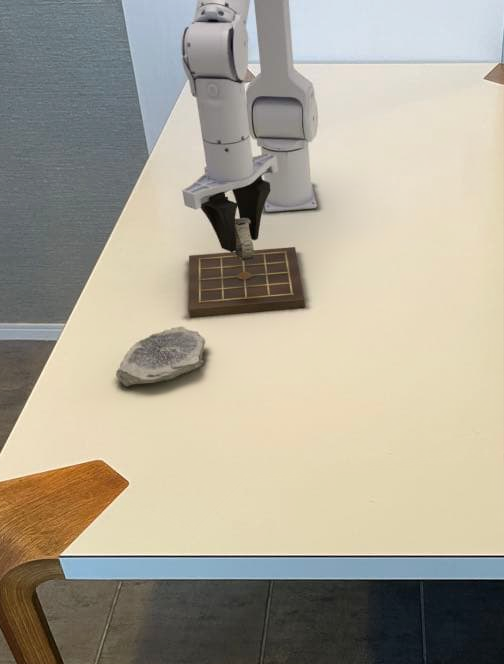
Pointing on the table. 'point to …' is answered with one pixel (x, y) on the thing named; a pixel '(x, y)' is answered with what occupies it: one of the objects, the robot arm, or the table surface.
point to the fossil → (162, 357)
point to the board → (244, 282)
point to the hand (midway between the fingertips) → (240, 243)
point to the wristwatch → (243, 239)
